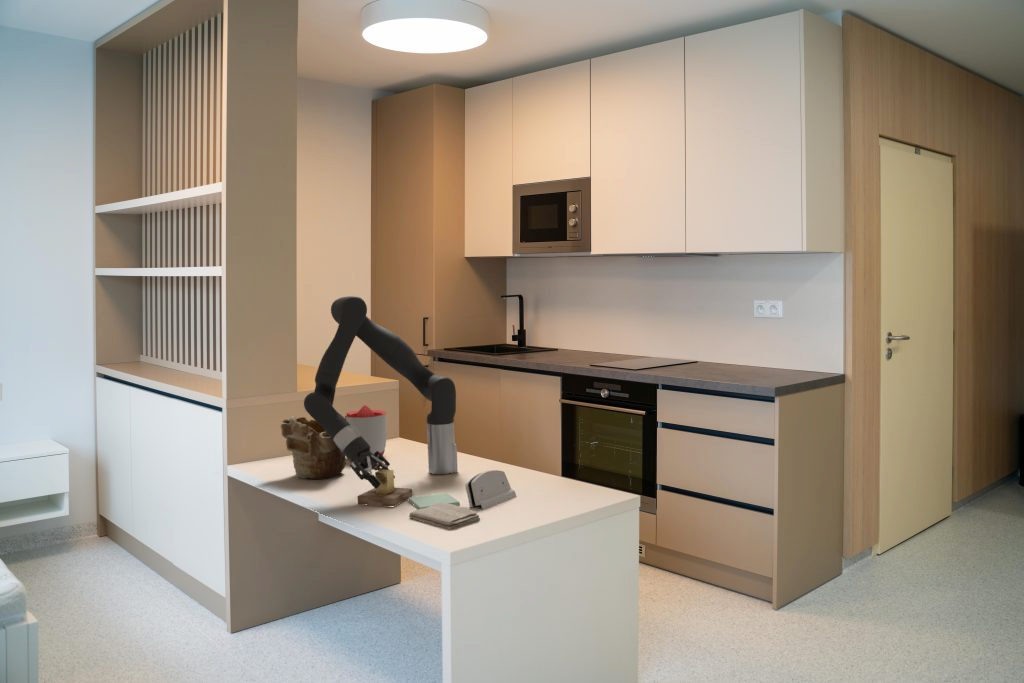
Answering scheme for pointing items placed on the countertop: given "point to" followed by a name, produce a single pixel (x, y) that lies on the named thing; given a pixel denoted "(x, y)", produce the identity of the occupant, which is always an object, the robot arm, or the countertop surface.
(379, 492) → the peg
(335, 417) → the robot arm
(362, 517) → the countertop surface
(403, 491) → the socket base
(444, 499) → the mat
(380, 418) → the citrus juicer
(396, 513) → the countertop surface
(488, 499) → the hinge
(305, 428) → the ceramic vessel
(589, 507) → the countertop surface
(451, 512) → the washcloth
